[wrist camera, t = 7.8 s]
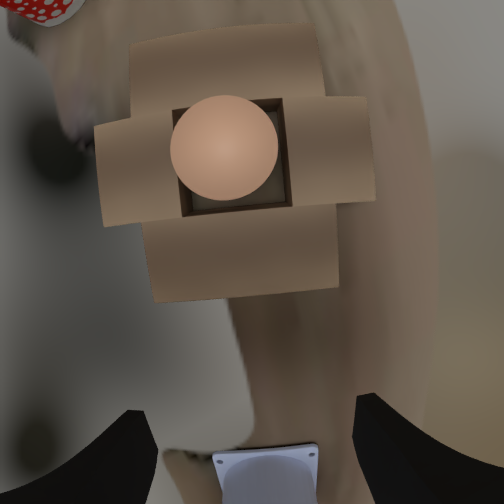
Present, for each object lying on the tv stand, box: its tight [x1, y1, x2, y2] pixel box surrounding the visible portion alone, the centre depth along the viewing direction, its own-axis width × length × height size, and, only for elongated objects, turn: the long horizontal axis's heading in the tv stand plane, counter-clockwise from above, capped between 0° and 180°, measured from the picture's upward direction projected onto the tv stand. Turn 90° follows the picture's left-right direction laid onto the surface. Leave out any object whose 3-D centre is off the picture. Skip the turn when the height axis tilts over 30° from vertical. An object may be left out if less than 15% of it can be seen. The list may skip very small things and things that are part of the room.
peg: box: [170, 95, 278, 200], centre depth 13 cm, size 4×4×7 cm
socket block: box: [94, 23, 376, 303], centre depth 15 cm, size 13×13×3 cm
